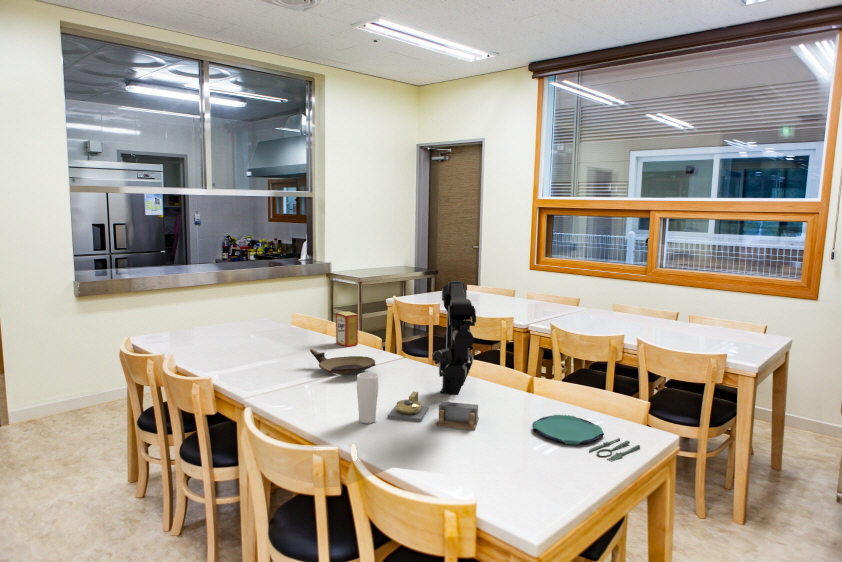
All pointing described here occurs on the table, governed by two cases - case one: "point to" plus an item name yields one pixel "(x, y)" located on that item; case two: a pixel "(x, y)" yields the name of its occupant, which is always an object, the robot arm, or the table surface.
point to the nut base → (413, 417)
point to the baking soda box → (346, 329)
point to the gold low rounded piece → (409, 405)
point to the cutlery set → (576, 433)
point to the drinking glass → (367, 396)
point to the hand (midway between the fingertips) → (459, 390)
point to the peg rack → (457, 424)
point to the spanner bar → (458, 411)
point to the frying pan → (343, 363)
